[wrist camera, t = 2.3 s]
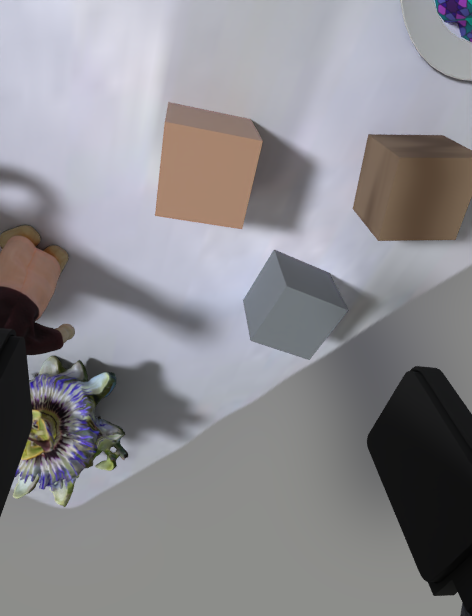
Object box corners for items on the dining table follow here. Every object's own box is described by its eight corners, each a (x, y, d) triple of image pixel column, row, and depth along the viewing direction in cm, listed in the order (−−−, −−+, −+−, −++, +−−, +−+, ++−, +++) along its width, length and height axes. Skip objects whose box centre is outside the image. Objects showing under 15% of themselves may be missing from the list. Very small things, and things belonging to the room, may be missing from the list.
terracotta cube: (250, 119, 25) (262, 140, 21) (234, 196, 28) (242, 229, 24) (168, 101, 25) (164, 121, 20) (159, 184, 27) (155, 215, 23)
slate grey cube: (328, 272, 33) (348, 310, 29) (295, 318, 35) (309, 360, 31) (273, 249, 31) (286, 286, 27) (242, 299, 33) (250, 340, 29)
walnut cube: (442, 135, 27) (486, 158, 23) (419, 208, 30) (455, 239, 26) (367, 134, 27) (399, 157, 23) (352, 208, 30) (378, 240, 26)
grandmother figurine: (-24, 246, 29) (-141, 382, 18) (-3, 203, 27) (-117, 326, 17) (81, 299, 32) (31, 439, 22) (105, 264, 30) (64, 397, 20)
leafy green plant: (69, 323, 40) (99, 352, 30) (132, 404, 44) (177, 452, 34) (-45, 402, 36) (-55, 466, 26) (37, 482, 40) (55, 563, 30)
